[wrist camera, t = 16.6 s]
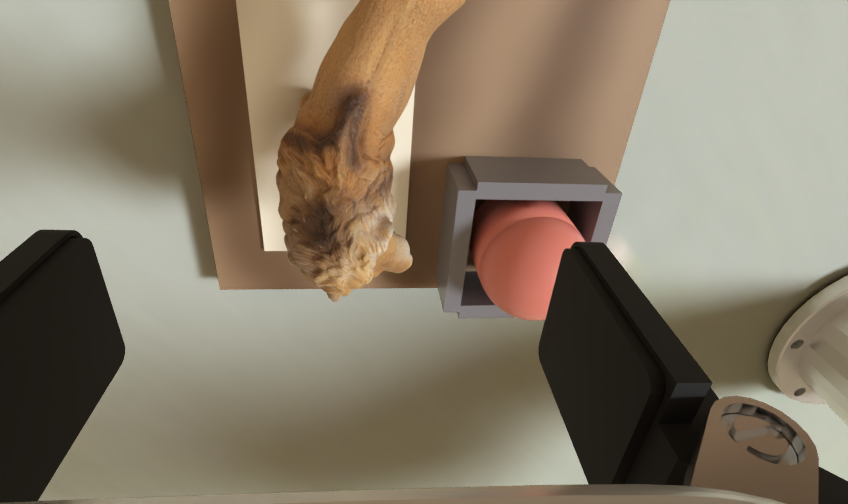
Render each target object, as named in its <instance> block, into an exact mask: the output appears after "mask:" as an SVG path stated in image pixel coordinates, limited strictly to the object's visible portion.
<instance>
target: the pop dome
mask: <svg viewBox="0 0 848 504" xmlns="http://www.w3.org/2000/svg"><path fill="white" fill-rule="evenodd" d="M575 242H585V240H584V238H583V237H582V235H581V234H580V232H579V231H578V229H577V228H576V227H575V226H574V224H573V223H572V222H571V220H570V219H569V218H568V216H567V215H566V214H565V212H564V211H563V210H562V208H561V207H560V206H559V204H558V203H557V202H556V201H552V200H491V199H487V200H486V201H485V202H484V203H483V204H481V205H480V207H479V208H478V209H477V210H476V212H475V213H474V215H473V222H472V229H471V236H470V243H469V251H470V254H471V257H472V260H473V262H474V265H475V268H476V271H477V273H478V276H479V279H480V282H481V284H482V287H483V289H484V291H485V293H486V294H487V296H488V297H489V298H490V300H491V301H492V302H493V303H494V304H495V305H496V306H497V307H498V308H500V309H501V310H502V311H504V312H506V313H507V314H509V315H511V316H514V317H517V318H520V319H524V320H545V319H546V315H547V311H548V307H549V303H550V299H551V295H552V291H553V288H554V284H555V280H556V276H557V272H558V268H559V264H560V260H561V256H562V253H563V251H564V249H566V248H571V246H572V245H573V243H575Z"/></svg>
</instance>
